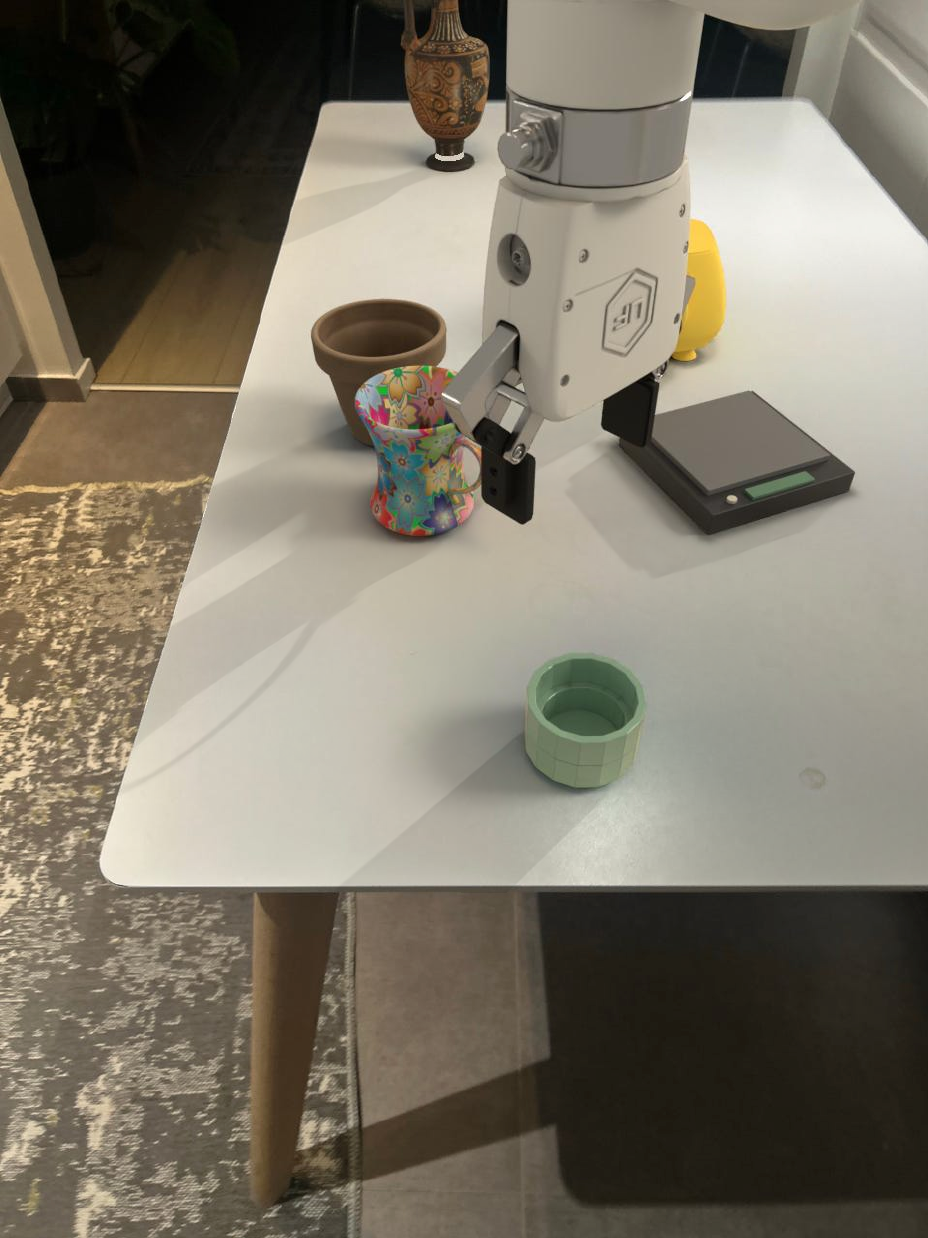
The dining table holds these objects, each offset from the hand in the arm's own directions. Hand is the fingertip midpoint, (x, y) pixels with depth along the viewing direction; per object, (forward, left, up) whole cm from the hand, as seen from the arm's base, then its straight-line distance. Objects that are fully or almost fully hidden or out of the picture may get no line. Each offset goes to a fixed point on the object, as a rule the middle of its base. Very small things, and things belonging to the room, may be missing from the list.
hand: (568, 472), depth 50 cm
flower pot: (+34, 0, -17) cm, 38 cm away
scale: (+16, -25, -17) cm, 34 cm away
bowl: (-6, +1, -17) cm, 18 cm away
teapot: (+37, -30, -17) cm, 51 cm away
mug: (+20, +1, -17) cm, 26 cm away
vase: (+96, -32, -17) cm, 102 cm away
